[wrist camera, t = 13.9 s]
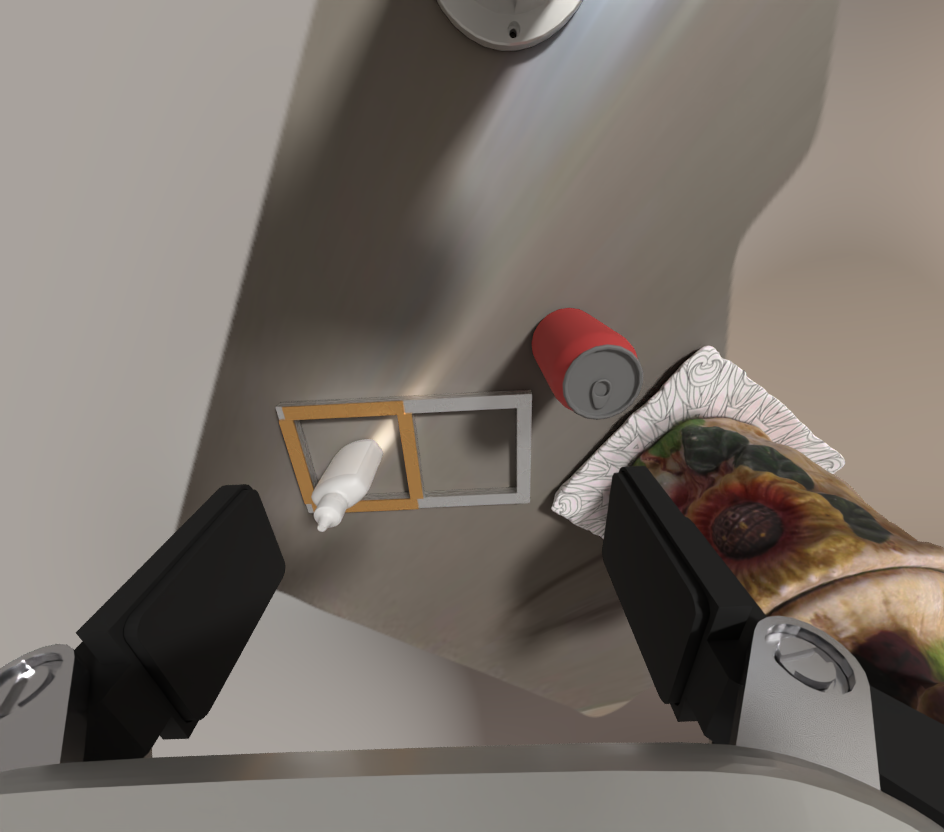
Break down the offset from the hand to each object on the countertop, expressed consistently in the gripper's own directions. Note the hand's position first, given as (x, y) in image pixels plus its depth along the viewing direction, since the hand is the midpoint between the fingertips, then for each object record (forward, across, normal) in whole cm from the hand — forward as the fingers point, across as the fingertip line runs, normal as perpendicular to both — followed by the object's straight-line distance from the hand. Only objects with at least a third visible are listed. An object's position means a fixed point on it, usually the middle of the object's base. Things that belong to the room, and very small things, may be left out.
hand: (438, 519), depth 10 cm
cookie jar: (+29, -26, +20) cm, 43 cm away
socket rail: (+28, +6, +15) cm, 33 cm away
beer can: (+28, -10, +3) cm, 30 cm away
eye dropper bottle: (+28, +13, +15) cm, 34 cm away
